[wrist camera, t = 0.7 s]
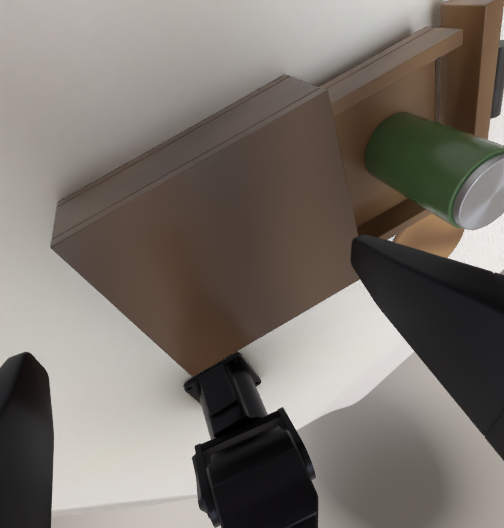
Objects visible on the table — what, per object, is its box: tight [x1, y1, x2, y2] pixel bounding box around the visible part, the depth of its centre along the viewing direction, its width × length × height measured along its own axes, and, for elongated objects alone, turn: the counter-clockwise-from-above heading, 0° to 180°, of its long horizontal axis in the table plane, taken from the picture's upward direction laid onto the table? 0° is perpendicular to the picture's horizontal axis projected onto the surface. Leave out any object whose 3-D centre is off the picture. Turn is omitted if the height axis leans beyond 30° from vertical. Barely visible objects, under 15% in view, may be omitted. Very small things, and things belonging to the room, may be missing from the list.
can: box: [365, 112, 504, 230], centre depth 21 cm, size 5×5×8 cm
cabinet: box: [50, 75, 360, 377], centre depth 23 cm, size 15×14×5 cm
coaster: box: [393, 214, 464, 258], centre depth 35 cm, size 9×9×1 cm
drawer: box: [320, 0, 504, 240], centre depth 24 cm, size 18×13×3 cm
